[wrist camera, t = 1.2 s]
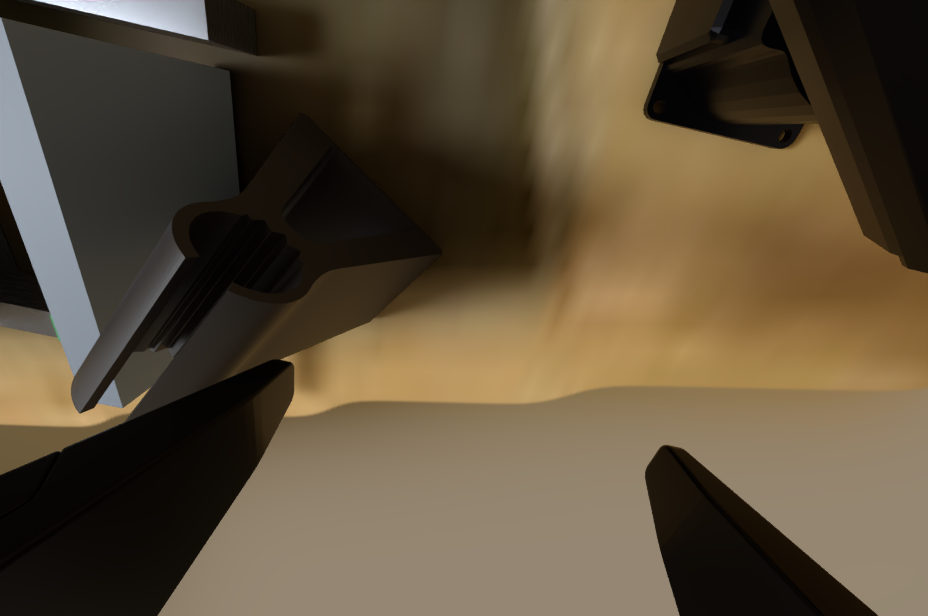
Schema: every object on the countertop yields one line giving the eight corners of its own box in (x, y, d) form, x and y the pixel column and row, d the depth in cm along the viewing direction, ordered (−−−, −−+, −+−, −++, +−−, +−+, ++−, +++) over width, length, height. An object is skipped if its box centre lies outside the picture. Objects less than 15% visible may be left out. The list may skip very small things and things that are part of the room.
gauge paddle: (229, 70, 15) (0, 17, 8) (256, 391, 23) (153, 506, 16) (194, 63, 15) (-67, 2, 8) (233, 386, 23) (120, 499, 16)
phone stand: (443, 251, 19) (384, 410, 8) (372, 318, 21) (249, 514, 10) (305, 112, 16) (-47, 75, 6) (239, 203, 18) (-108, 304, 8)
